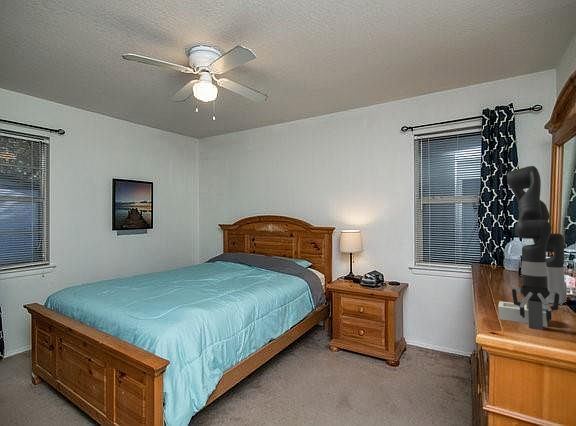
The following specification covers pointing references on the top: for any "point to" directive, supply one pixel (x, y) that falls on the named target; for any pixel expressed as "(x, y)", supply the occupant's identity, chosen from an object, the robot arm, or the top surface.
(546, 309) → the shutter
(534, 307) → the plug
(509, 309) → the socket block
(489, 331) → the top surface
